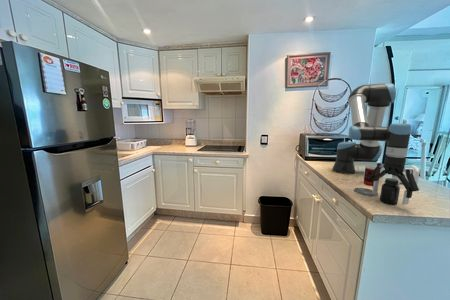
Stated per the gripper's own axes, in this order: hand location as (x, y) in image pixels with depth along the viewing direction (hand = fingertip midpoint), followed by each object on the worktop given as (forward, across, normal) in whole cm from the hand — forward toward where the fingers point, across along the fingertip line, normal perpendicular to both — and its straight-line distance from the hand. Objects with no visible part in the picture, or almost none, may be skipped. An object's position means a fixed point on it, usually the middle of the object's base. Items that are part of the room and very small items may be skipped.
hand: (388, 198), depth 94 cm
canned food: (+2, -22, +18) cm, 29 cm away
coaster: (+2, -13, +2) cm, 13 cm away
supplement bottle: (+3, 0, 0) cm, 3 cm away
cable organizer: (+3, -17, +39) cm, 43 cm away
